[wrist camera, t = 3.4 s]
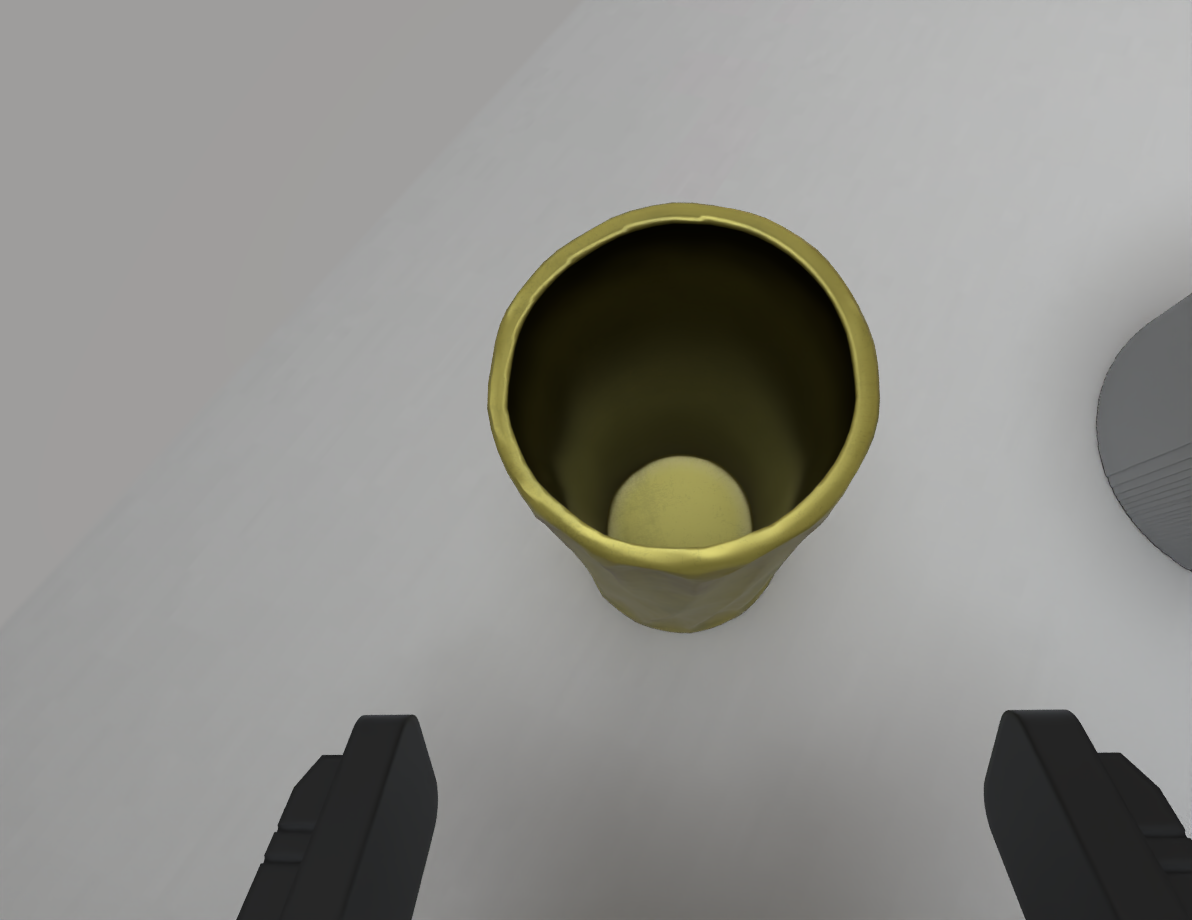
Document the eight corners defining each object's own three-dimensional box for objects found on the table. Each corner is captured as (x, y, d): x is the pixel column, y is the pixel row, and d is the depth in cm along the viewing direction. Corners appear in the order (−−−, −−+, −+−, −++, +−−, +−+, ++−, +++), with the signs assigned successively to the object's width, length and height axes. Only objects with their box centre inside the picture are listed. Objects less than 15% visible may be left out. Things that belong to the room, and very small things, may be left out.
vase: (540, 542, 25) (363, 410, 11) (666, 395, 25) (649, 93, 12) (695, 676, 23) (716, 717, 10) (823, 516, 24) (1018, 337, 10)
